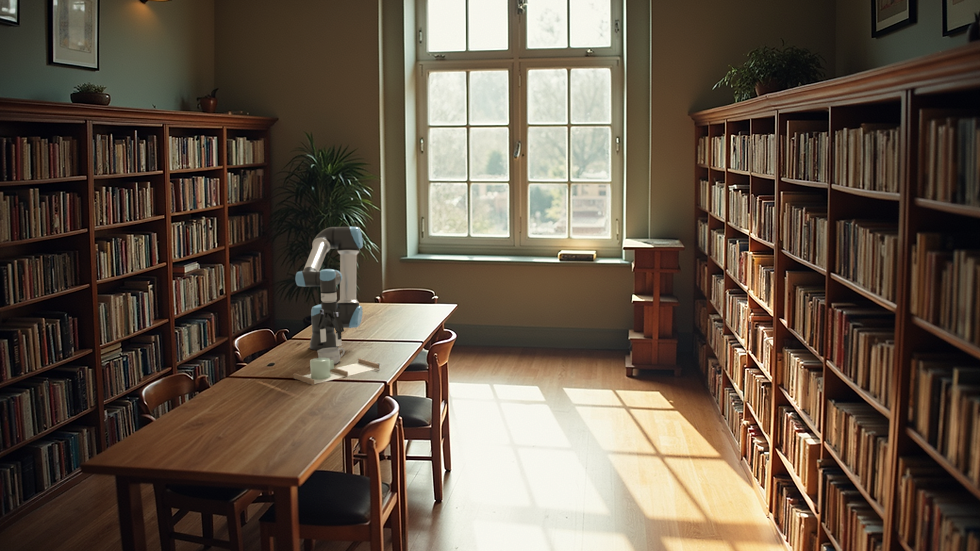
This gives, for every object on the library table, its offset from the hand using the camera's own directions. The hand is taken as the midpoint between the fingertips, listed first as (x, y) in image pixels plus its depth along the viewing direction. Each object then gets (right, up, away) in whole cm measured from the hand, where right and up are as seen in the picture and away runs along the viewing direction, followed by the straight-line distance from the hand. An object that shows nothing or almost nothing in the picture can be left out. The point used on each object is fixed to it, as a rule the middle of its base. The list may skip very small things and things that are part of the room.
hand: (331, 343), depth 411 cm
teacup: (0, -11, +2) cm, 11 cm away
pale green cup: (+1, -13, -22) cm, 26 cm away
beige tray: (+6, -13, -17) cm, 22 cm away
